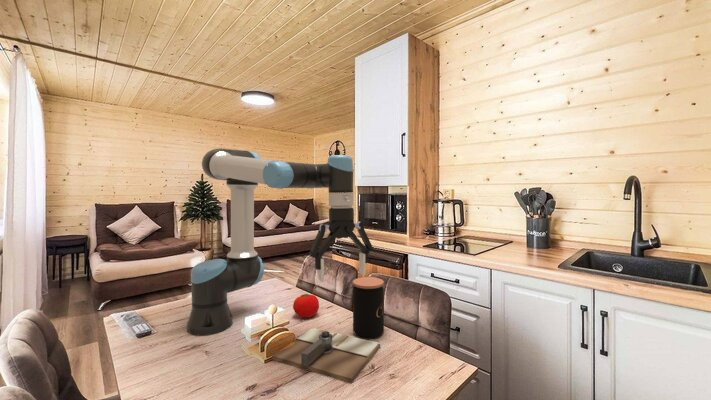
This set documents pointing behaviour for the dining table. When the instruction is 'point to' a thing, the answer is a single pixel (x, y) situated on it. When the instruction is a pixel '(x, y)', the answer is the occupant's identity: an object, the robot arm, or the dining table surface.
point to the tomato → (306, 305)
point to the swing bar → (317, 348)
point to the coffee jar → (368, 307)
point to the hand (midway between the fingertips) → (342, 277)
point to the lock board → (331, 355)
